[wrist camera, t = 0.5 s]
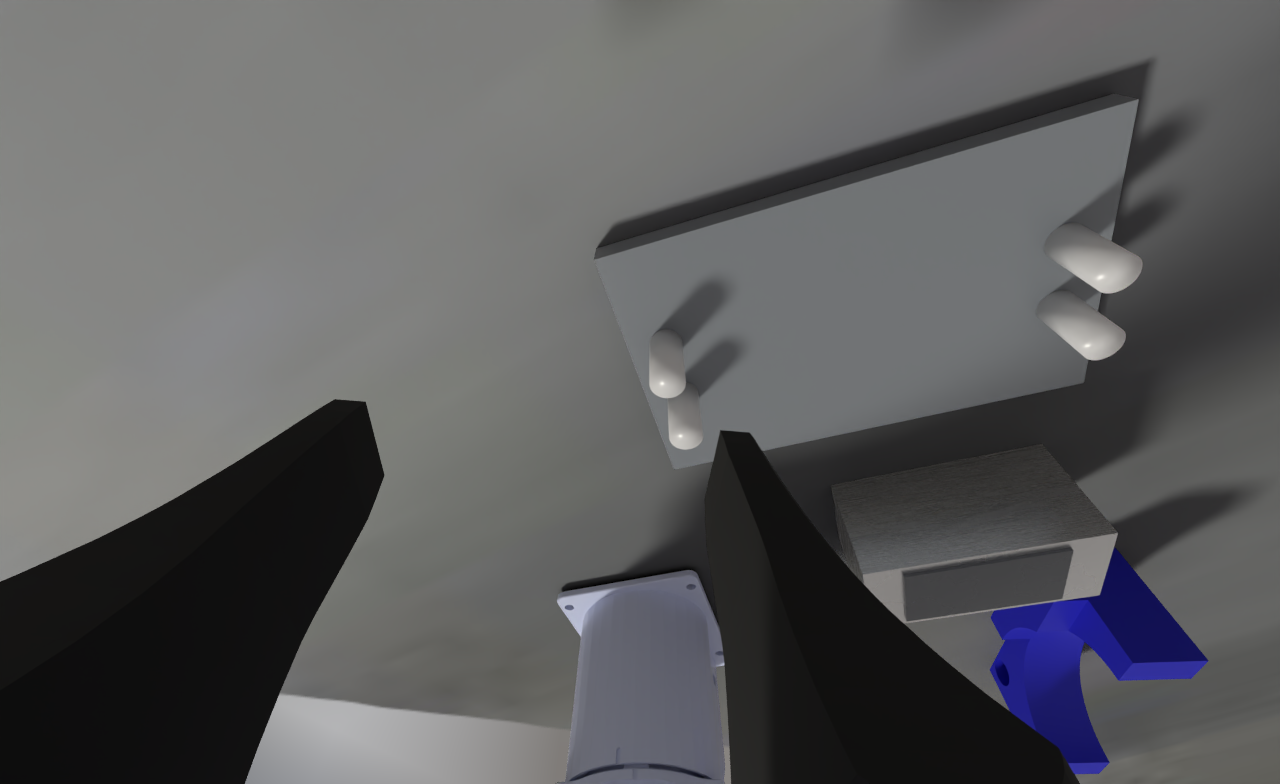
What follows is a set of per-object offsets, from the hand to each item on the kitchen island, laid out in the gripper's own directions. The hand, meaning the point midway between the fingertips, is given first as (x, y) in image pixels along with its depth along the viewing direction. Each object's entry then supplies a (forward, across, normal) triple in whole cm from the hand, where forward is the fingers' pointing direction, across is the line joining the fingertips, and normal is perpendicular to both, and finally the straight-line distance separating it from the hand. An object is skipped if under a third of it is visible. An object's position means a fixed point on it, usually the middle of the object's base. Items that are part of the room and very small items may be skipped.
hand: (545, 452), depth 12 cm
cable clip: (+10, -26, +19) cm, 34 cm away
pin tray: (+10, -10, +1) cm, 14 cm away
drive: (+10, -16, +10) cm, 22 cm away
